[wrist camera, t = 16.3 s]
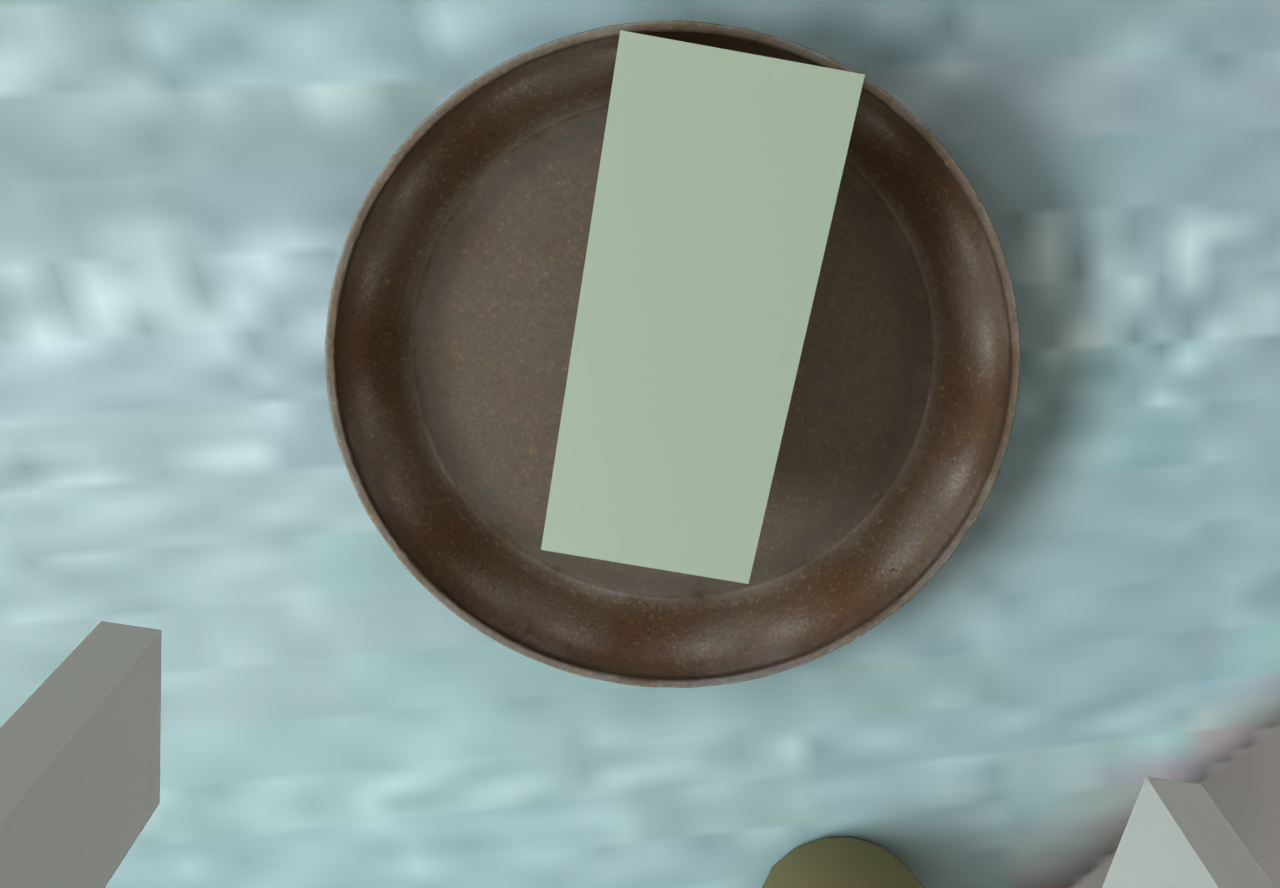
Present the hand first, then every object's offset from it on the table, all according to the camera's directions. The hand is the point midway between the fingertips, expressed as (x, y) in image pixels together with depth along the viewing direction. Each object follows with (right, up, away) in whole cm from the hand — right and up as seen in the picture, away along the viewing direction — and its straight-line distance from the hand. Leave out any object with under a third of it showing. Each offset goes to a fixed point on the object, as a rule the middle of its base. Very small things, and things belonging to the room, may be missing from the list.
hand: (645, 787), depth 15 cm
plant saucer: (+1, +7, +21) cm, 22 cm away
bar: (+1, +9, +17) cm, 19 cm away
